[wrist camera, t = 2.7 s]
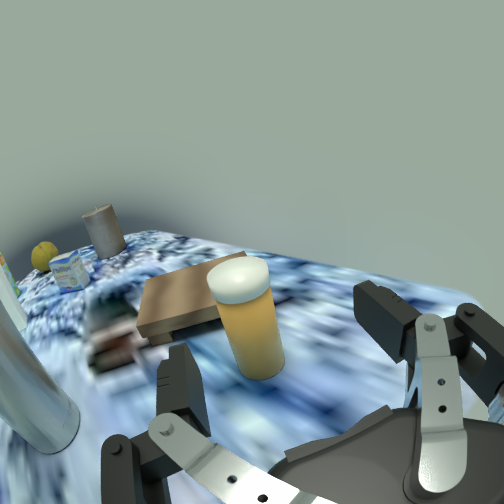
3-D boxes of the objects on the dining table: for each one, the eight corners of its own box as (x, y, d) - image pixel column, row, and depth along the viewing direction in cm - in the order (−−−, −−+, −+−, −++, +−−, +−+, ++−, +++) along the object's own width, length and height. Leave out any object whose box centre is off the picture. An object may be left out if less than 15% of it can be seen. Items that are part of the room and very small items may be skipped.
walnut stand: (148, 349, 33) (136, 326, 31) (154, 299, 44) (146, 279, 43) (271, 314, 35) (266, 289, 33) (249, 271, 47) (244, 250, 45)
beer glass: (243, 386, 25) (210, 295, 20) (233, 353, 30) (204, 266, 25) (292, 370, 26) (275, 275, 21) (277, 340, 30) (258, 251, 26)
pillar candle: (121, 243, 80) (105, 199, 74) (131, 247, 73) (113, 199, 67) (95, 256, 74) (78, 212, 68) (102, 262, 68) (83, 213, 61)
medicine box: (61, 294, 54) (46, 263, 50) (69, 285, 58) (56, 255, 55) (83, 290, 54) (68, 256, 50) (91, 280, 58) (77, 248, 54)
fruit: (68, 259, 80) (58, 233, 75) (51, 275, 69) (39, 247, 65) (50, 264, 80) (40, 240, 76) (33, 279, 70) (21, 253, 65)
